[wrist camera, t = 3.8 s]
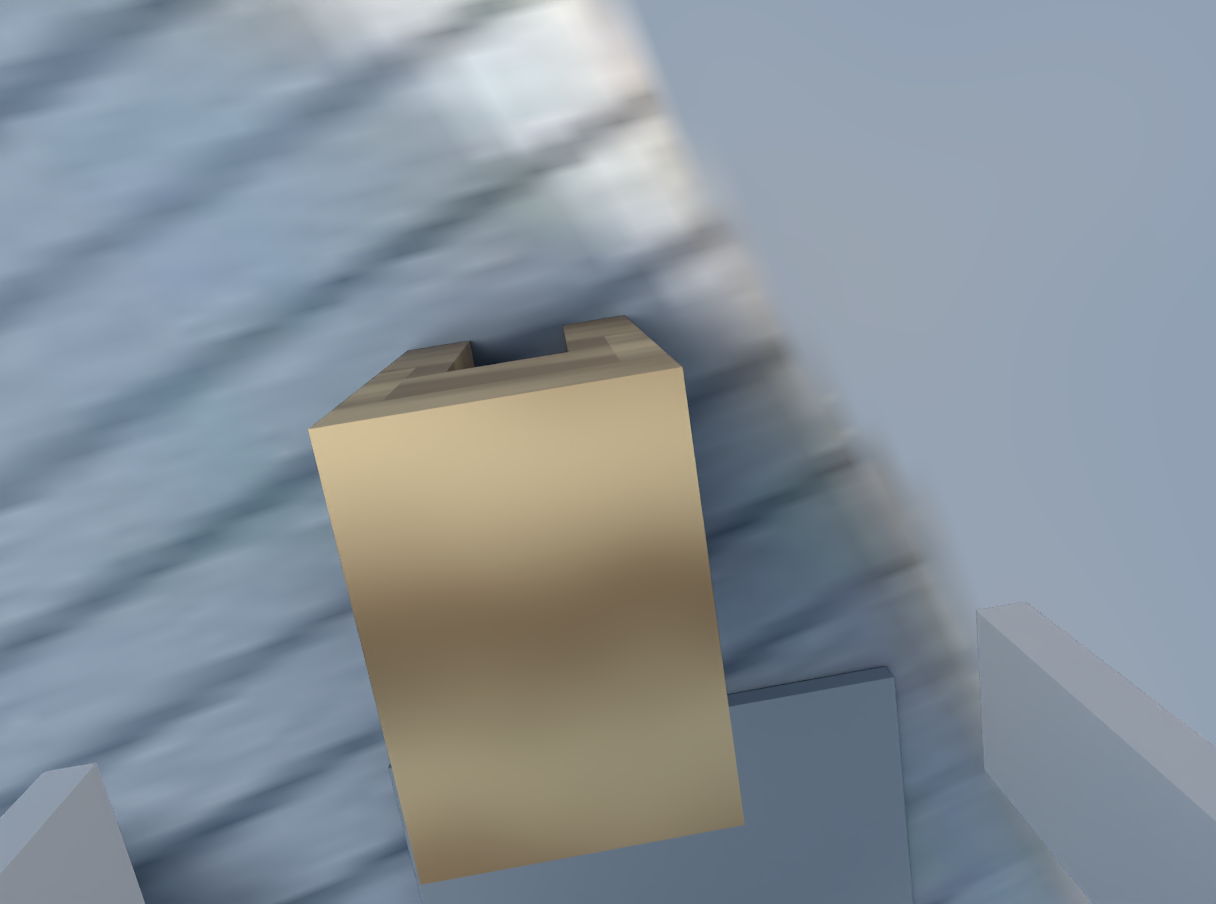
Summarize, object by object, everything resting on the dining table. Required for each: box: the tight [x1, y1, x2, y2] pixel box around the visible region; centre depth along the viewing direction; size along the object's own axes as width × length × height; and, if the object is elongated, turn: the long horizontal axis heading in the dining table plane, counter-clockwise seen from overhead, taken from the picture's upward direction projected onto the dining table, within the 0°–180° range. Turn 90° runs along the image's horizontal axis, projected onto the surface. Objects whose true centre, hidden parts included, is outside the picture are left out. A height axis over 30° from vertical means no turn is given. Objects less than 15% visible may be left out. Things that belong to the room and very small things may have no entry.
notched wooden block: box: [308, 315, 745, 885], centre depth 23 cm, size 10×7×12 cm
